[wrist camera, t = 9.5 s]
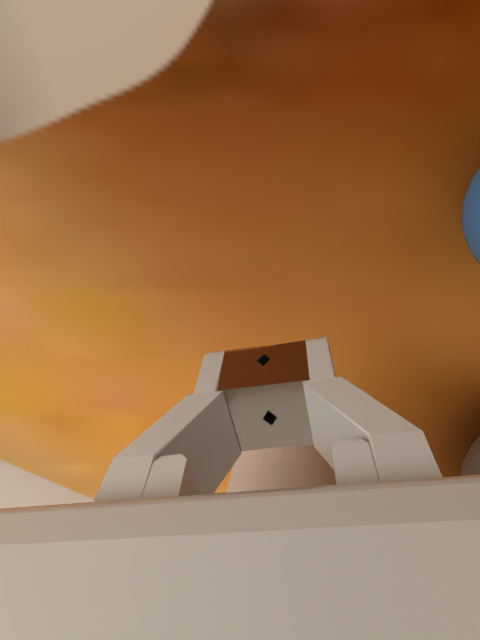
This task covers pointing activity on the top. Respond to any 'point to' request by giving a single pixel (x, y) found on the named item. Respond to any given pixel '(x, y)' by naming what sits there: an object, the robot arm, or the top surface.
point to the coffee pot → (472, 460)
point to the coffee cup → (280, 469)
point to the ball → (472, 216)
